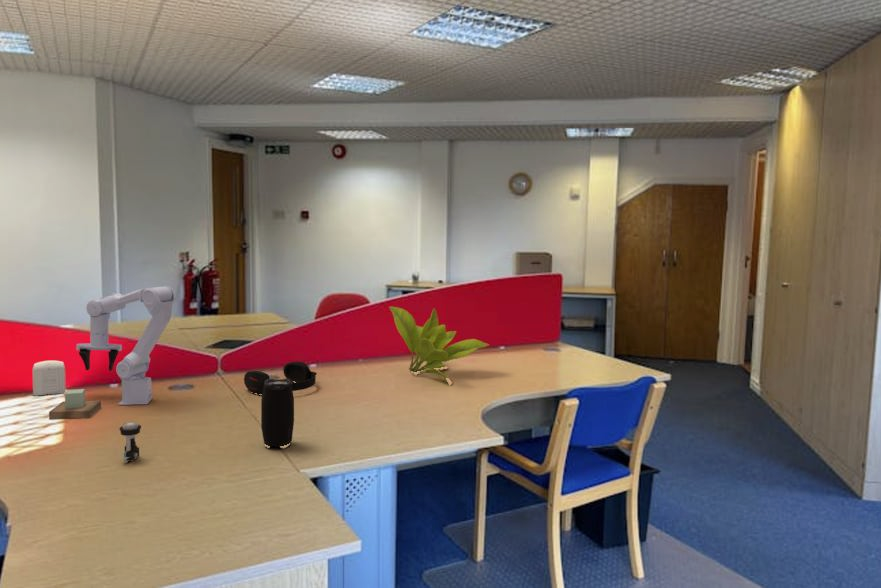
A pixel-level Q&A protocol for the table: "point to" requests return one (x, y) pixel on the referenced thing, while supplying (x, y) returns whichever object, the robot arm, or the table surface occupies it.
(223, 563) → the table surface
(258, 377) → the headset
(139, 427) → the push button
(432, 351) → the artificial plant
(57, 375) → the photo printer
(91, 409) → the walnut riser block
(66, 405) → the sage wooden cube
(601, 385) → the table surface
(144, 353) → the robot arm
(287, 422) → the portable speaker
